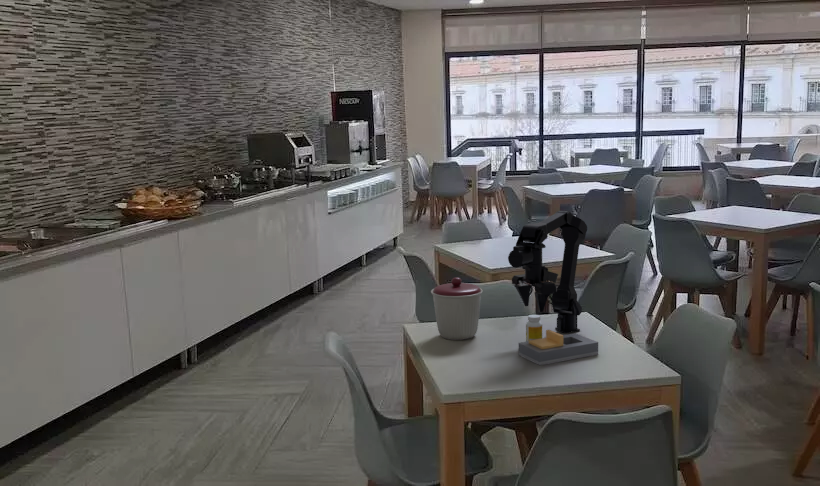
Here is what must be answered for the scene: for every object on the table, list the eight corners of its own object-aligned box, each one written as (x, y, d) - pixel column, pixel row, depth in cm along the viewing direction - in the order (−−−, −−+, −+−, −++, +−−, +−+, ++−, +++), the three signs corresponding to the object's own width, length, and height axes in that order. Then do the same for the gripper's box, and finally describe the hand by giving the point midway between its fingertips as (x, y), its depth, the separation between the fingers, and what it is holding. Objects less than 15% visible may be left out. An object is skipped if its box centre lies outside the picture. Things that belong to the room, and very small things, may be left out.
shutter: (549, 339, 246) (549, 329, 245) (563, 345, 238) (563, 335, 238) (528, 343, 242) (528, 333, 242) (542, 349, 235) (542, 339, 235)
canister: (424, 333, 273) (422, 275, 270) (470, 326, 279) (469, 270, 276) (444, 346, 256) (442, 285, 253) (492, 339, 262) (491, 279, 259)
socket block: (575, 344, 253) (575, 333, 252) (598, 354, 242) (598, 342, 241) (518, 354, 244) (518, 342, 243) (539, 365, 233) (539, 352, 233)
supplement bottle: (523, 343, 257) (522, 315, 255) (536, 340, 259) (535, 313, 258) (532, 347, 252) (532, 318, 251) (545, 344, 254) (545, 316, 253)
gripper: (570, 264, 246) (570, 311, 248) (538, 256, 263) (538, 300, 265) (541, 268, 242) (541, 316, 244) (510, 259, 259) (511, 304, 261)
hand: (533, 308), depth 254 cm, fingers open, 9 cm apart
